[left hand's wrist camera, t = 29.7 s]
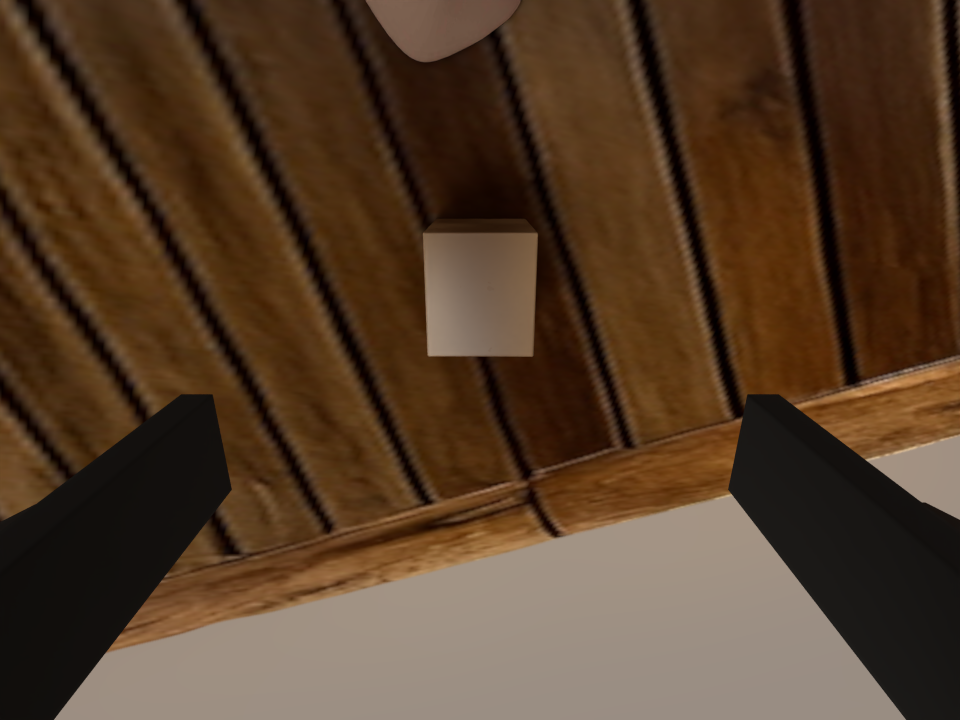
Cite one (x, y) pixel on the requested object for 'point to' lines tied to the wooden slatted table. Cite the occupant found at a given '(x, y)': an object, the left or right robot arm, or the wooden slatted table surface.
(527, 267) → the light brown block
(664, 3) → the wooden slatted table surface
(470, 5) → the anatomical model
